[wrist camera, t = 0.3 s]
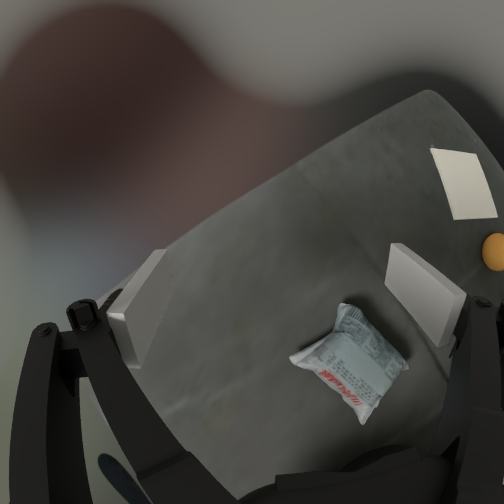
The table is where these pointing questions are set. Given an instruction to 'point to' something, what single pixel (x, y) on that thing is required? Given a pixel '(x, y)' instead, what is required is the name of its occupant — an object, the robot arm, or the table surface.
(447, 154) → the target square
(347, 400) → the packaged food
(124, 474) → the table surface
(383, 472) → the robot arm
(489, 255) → the ball
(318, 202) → the table surface
